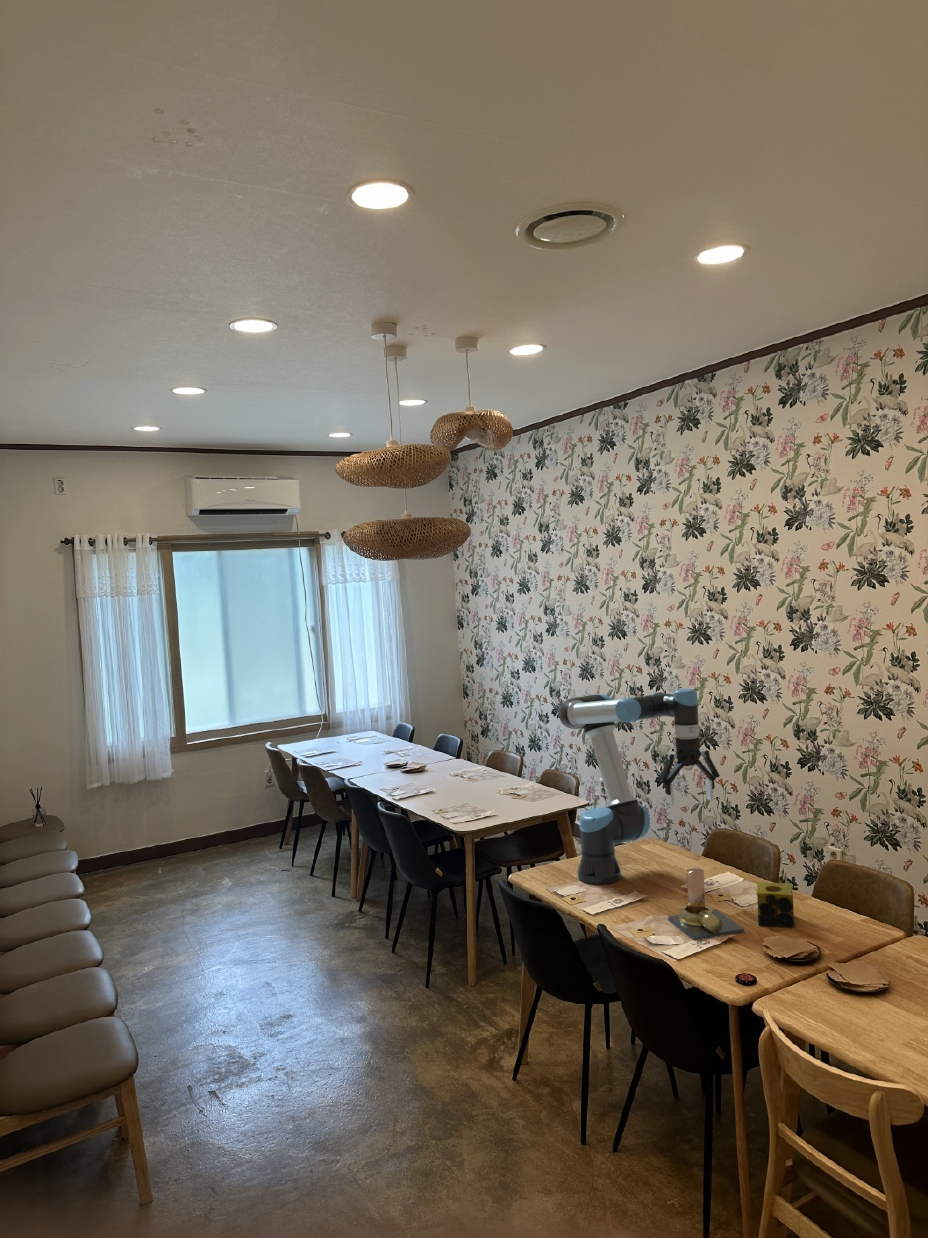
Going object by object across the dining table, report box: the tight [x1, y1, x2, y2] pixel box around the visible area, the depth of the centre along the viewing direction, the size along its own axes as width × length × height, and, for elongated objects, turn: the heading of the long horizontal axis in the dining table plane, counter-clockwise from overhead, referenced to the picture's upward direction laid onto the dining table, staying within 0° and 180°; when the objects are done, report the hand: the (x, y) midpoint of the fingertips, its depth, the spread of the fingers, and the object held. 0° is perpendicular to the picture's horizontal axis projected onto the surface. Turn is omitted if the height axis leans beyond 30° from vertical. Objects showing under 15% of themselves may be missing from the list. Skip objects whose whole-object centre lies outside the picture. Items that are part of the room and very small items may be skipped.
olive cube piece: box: [756, 881, 795, 929], centre depth 251 cm, size 10×10×10 cm
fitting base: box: [667, 903, 745, 941], centre depth 251 cm, size 16×16×5 cm
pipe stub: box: [686, 867, 706, 914], centre depth 253 cm, size 5×5×14 cm
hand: (690, 802), depth 274 cm, fingers open, 13 cm apart
